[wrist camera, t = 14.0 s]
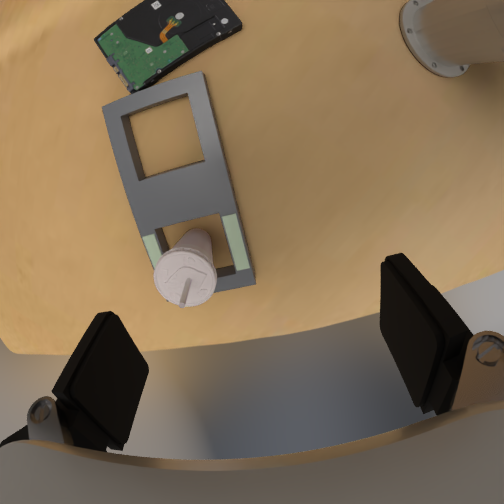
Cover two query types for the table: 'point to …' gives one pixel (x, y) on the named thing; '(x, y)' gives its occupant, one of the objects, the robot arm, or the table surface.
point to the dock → (180, 177)
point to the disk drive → (163, 37)
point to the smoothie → (187, 270)
